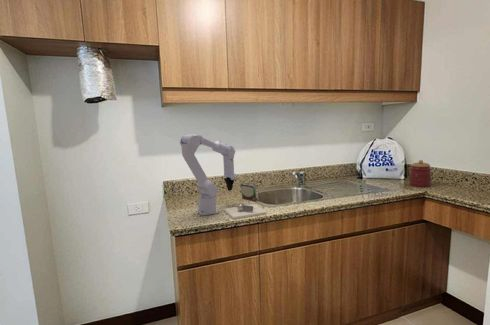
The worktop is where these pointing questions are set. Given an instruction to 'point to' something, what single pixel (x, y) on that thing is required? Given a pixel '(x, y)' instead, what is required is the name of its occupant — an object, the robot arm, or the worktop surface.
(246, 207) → the dial lever
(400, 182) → the worktop surface
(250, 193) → the food container
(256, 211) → the dial panel
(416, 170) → the canister
